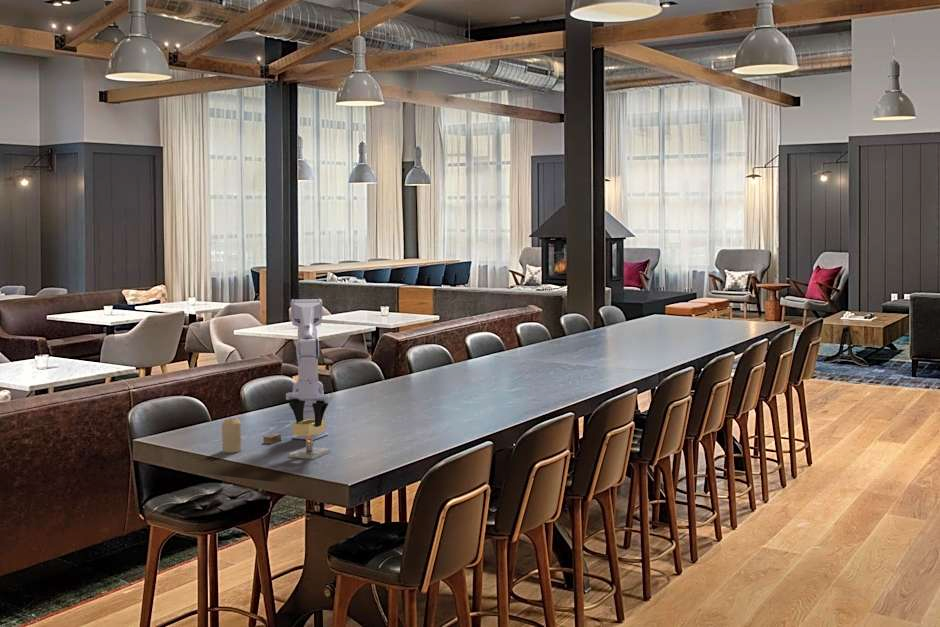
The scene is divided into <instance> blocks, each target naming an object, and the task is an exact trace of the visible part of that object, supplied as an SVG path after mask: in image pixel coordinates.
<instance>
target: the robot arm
mask: <svg viewBox="0 0 940 627" xmlns="http://www.w3.org/2000/svg"><path fill="white" fill-rule="evenodd" d="M290 318H291V319H290V320H291V323H292V326H294V327H297V341H296V343H295V344H296V345H295V346H296V359H297V365H298V366H297V371H298V372H297V373H298V374H297V375H298V380H297V381H296V382H294V383H293V385H292V392H289V391H288V392H287V393H285V400H286V401H289V400H291V401H289V402H288V405H289V407H290V408H291V410H292V412H293V414H294V418H295V421H296V422H300V421H303V420H306V419H315V427H319V426H321V423H322V420H325V431H323V432H321V433H318V434H315V435H312V436H309V437H307V436H299V435H293V436H291V439H296V440H297V439H298V440H305V441H306V439H313V441H315V440H318V439H320V438H322V437H325V436H328V435H329V433H328V432H327V422H326V421H327V418H326V413H325V412H326V409H327V407H328V406H329V403H332V399H333V398H332V395H330V394H324V392H325V391H324V384H323V383H322V381H319V359H318V358H320V342H319V337H318V329H317V327H319V326H320V325H322V322H323V300H322V299H321V298H316V299H313V298H312V299H311V298H310V299H309V298H307V299H306V298H305V299H303V298H302V299H294V298H292V299H291V300H290Z"/></svg>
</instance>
